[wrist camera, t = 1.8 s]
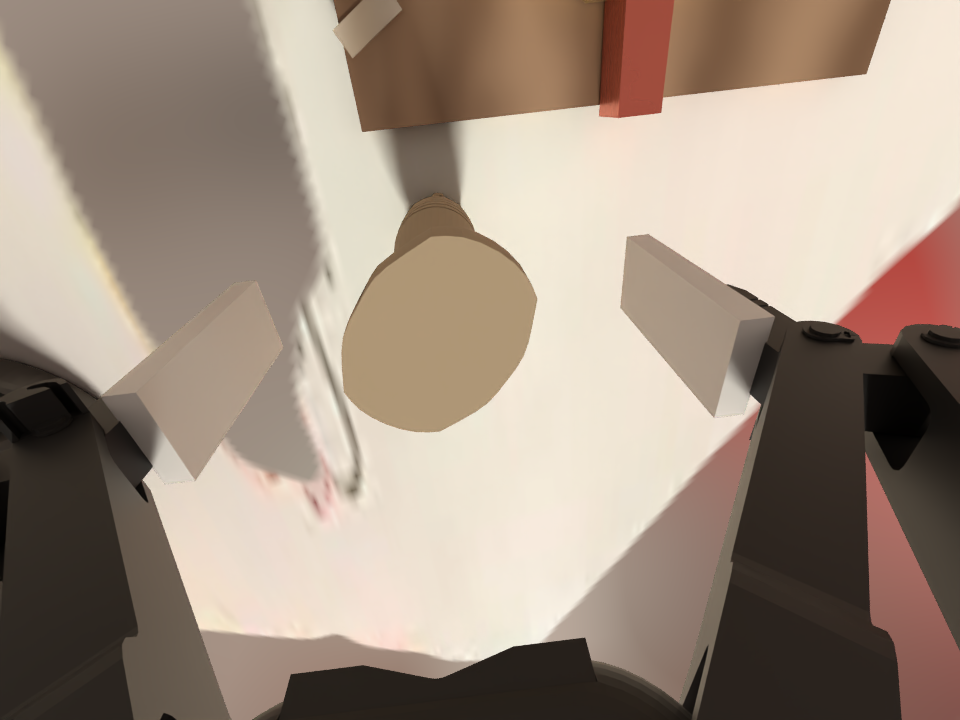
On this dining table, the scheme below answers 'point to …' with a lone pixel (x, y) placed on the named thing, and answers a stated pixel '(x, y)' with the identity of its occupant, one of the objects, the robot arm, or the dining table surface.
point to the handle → (436, 323)
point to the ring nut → (634, 56)
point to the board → (580, 52)
